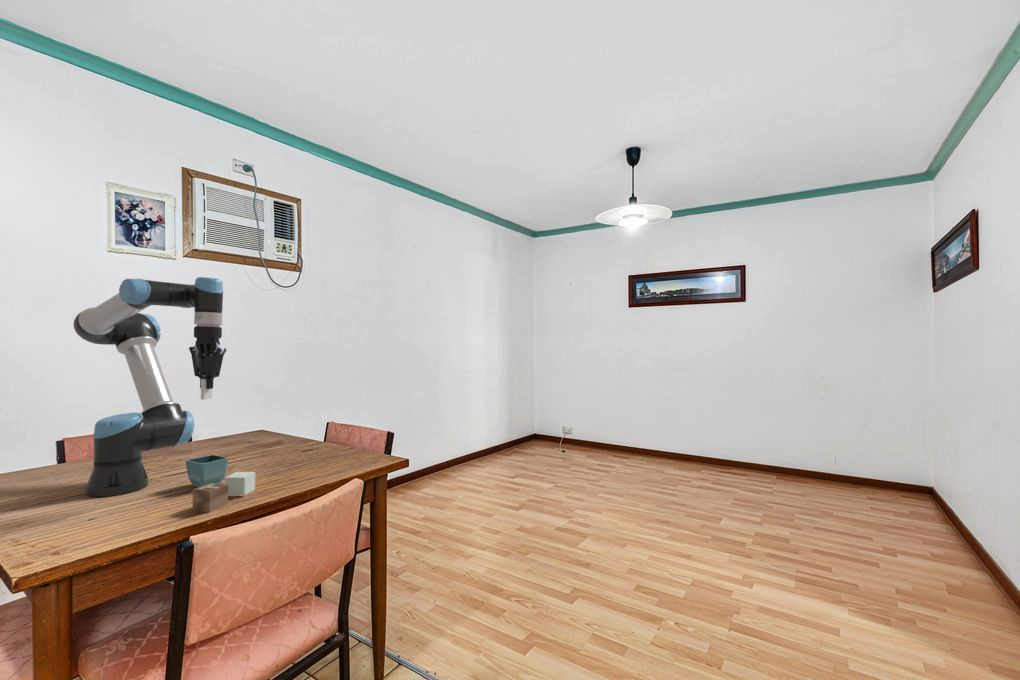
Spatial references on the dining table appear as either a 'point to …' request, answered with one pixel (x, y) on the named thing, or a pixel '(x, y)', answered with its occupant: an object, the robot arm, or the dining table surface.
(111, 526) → the dining table surface
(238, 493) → the grey-green block
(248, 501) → the dining table surface
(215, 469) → the flower pot
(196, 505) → the walnut block
